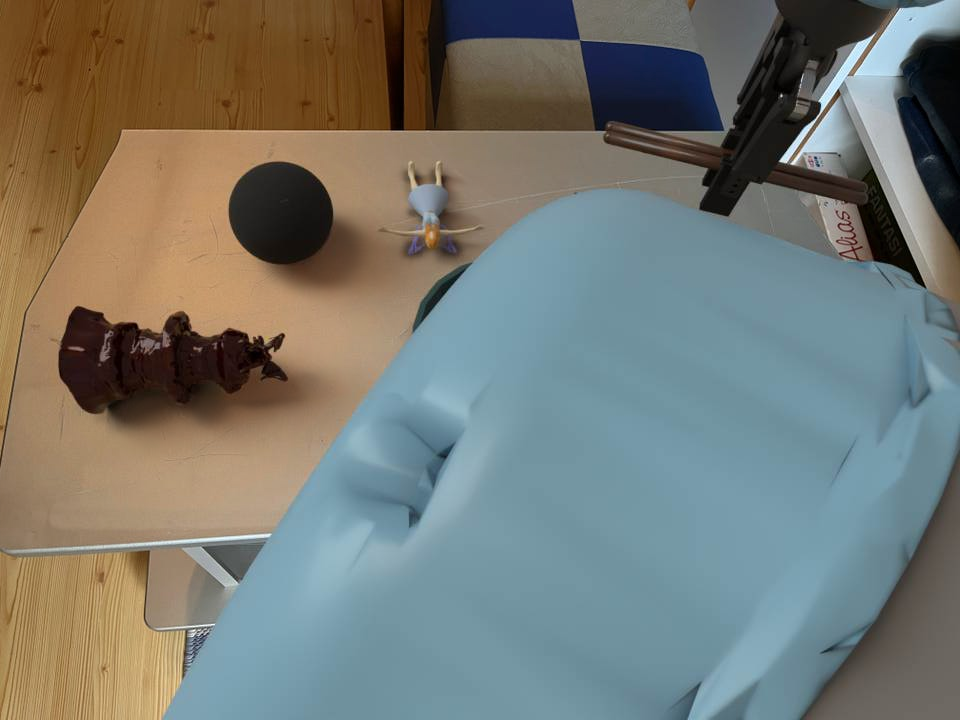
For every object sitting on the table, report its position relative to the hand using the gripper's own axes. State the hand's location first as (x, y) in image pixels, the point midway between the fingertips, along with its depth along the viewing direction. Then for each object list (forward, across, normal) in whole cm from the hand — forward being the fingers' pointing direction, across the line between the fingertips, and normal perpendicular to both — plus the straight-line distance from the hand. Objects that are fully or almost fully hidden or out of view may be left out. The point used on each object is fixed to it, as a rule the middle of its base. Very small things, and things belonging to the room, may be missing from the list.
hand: (715, 197), depth 68 cm
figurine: (+14, +24, -43) cm, 51 cm away
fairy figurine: (+14, -1, -27) cm, 30 cm away
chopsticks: (-4, 0, 0) cm, 4 cm away
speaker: (+14, +7, -40) cm, 43 cm away
